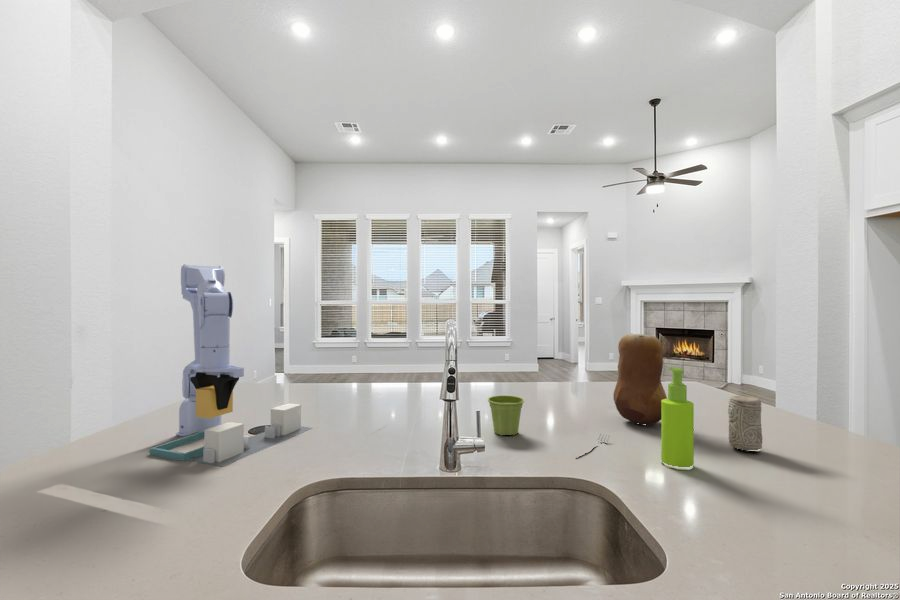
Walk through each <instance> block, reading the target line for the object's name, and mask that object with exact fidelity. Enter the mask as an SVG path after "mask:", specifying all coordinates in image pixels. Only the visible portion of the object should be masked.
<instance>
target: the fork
mask: <svg viewBox="0 0 900 600" xmlns="http://www.w3.org/2000/svg"><path fill="white" fill-rule="evenodd" d="M601 435H602V436H601ZM604 435H605V434H602V433H600V434H599V436H598V438H597V440H599V442H600V441H601V442H603V441H604V442H605V443H606V442H607V443H608V441H609V440H610V439H609V438H610V434H609V435H608V438H607V434H606V435H605V437H604ZM606 438H607V439H606ZM605 440H606V441H605Z"/></svg>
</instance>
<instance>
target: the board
mask: <svg viewBox="0 0 900 600" xmlns="http://www.w3.org/2000/svg"><path fill="white" fill-rule="evenodd" d="M312 429H313V427H309V426H302V425H301V429H299V430H296V431H294V432H291V433H289V434H286V435H280V425H276V424H271V423H270V426H268V425H266V426H264V431H263V432H260V433H258V434H255V435H252V436H250V435H246V434H245V435H244V437H243V453H240V454H238V455H235V456H233V457H231V458H228V459H226V460H223V461H221V462H215V450H214V449H208V448H205V449H203V454H202V455H200V456H197V457H194V458H192V459H189V460H187V461H190V462H193V463H194V462H195V463H198V464H199V463H200V464H204V465H209V466H215V467H221V468H222V467H225V466H228V465H230V464H233V463H235V462H237V461H239V460H240V461H241V460H242V459H244V458H247V457H248V456H252V455H253V454H255V453H256V454H257V453H258V452H260V451H263V450H265V449H268V448H269V447H272V446H275V445H277V444H279V443H281V442H284V441H287V440H289V439H292V438H294V437H295V436H297V435H301V434H302V433H305V432H307V431H309V430H312Z"/></svg>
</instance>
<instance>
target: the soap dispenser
mask: <svg viewBox="0 0 900 600" xmlns="http://www.w3.org/2000/svg"><path fill="white" fill-rule="evenodd" d="M669 371H671V372H672V382H670V383H668V384H667V399H663V400H661V420H660V421H661V422H660V423H661V425H660V426H661V427H660V428H661V429H660V430H661V431H660V435H661V436H660V438H661V439H660V440H661V442H660V443H661V444H660V446H661V448H660V451H661V452H660V455H661V456H660V458H661V459H660V461H661V460H662V462H664V463H666V464H668V465H672V466H678V467H690V466H692V465H693V464H695V463H694V456H695V455H694V454H695V453H694V448H695V447H694V444H695V443H694V431H695V430H694V429H695V427H694V425H695V424H694V421H695V420H694V418H695V417H694V416H695V415H694V414H695V413H694V411H695V410H694V409H695V408H694V405H695V404H694V402H692V401H690V400H687V398H688V397H687V396H688V395H687V394H688V393H687V390H688V389H687V385H686V384H684V383H683V374H684V372H685V371H684V369H683V368H682V367H679V366H669ZM693 466H694V465H693Z"/></svg>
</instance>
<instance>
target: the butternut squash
mask: <svg viewBox="0 0 900 600" xmlns="http://www.w3.org/2000/svg"><path fill="white" fill-rule="evenodd" d="M617 347H618V354H619V356H618V363H617V371H618V373H617V381H616V384H615V386H614V387H615V388H614V390H613V401H614V404H615V407H616V410H617V412H618V413H619V415H620V416H621V417H622V418H623V419H625V420H628V421H629V422H630V421H631V422H633V423H634V422H635V423H634V424H636V423H639V424H646V425H648V426H649V425H654V424H655V425H656V424H657V423H659V422H660V421H661V400H663V399H668V396H667V395H666V394H667V393H666V391H665V389H664V386H663V384H662V383H663V382H662V381H661V378H662V377H661V376H662V373H663V367H664V356H663V346H662V342H661V340H660V339H659V338H657V337H656V336H654V335H649V334H647V335H646V334H641V333H633V332H632V333H630V332H629V333H626V334H624V335H622V337H621V338H620V340H619V342H618V346H617Z"/></svg>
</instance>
